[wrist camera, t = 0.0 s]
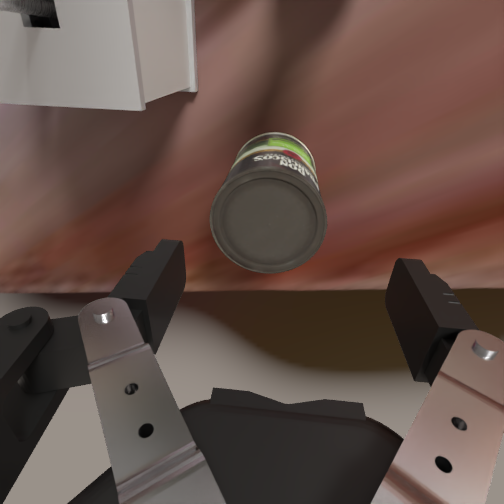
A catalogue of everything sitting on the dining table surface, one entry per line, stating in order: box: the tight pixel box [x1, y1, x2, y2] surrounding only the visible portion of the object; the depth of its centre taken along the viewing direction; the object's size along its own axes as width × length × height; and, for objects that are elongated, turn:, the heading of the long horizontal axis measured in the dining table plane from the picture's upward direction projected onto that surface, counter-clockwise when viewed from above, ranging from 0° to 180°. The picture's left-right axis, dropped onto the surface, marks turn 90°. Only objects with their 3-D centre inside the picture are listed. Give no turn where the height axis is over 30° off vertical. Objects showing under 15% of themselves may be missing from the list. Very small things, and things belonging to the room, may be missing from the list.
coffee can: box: [210, 132, 327, 273], centre depth 35 cm, size 10×10×14 cm
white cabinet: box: [0, 0, 198, 111], centre depth 27 cm, size 12×16×16 cm
